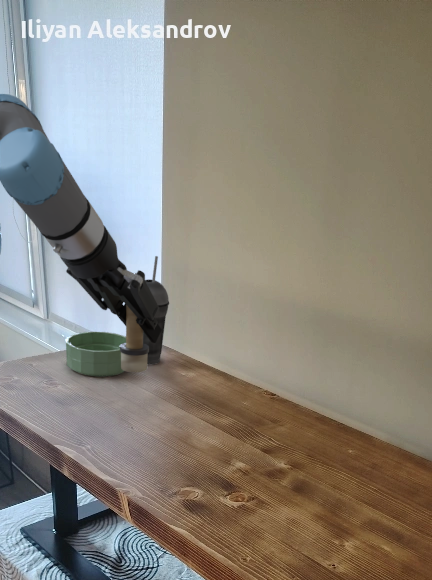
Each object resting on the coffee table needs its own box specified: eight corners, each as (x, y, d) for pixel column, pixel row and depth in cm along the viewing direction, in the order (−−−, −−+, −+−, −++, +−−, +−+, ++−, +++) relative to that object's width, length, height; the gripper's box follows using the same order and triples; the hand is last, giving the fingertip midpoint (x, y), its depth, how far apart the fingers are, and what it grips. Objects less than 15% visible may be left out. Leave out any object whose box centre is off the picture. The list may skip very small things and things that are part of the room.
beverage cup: (144, 352, 128) (147, 249, 118) (174, 360, 125) (178, 256, 115) (122, 360, 123) (122, 254, 113) (152, 369, 120) (155, 260, 110)
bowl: (56, 372, 114) (55, 346, 112) (81, 353, 124) (80, 328, 122) (119, 381, 113) (119, 355, 110) (139, 361, 123) (139, 336, 121)
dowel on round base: (115, 370, 104) (115, 278, 97) (124, 362, 108) (125, 272, 101) (143, 374, 103) (145, 282, 96) (151, 365, 108) (154, 276, 100)
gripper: (25, 253, 88) (101, 342, 109) (115, 272, 81) (178, 363, 102) (49, 210, 89) (120, 306, 110) (140, 225, 83) (197, 324, 104)
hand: (148, 333), depth 106 cm, fingers closed on dowel on round base, 3 cm apart
